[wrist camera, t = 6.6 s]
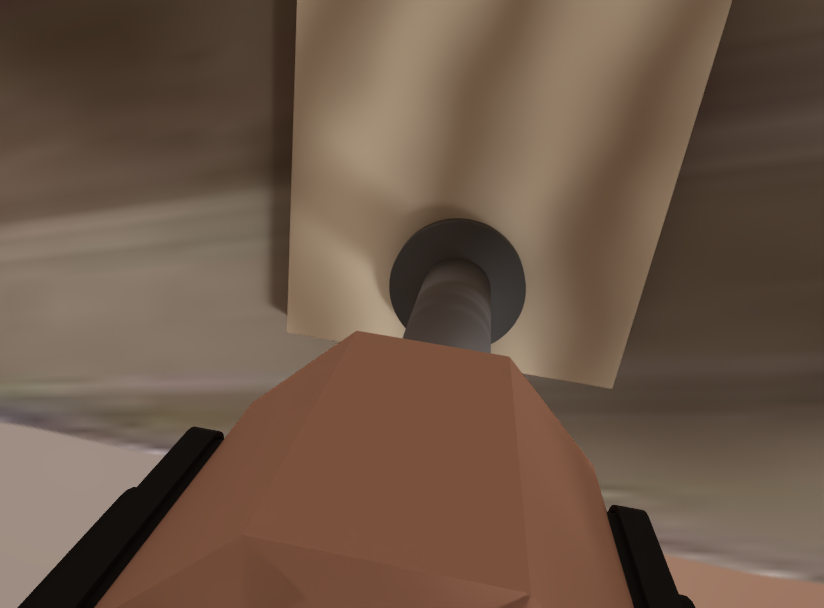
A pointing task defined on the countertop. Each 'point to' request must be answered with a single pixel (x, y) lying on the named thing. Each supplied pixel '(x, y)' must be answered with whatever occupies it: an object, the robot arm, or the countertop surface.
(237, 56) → the countertop surface
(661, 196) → the post board
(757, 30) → the countertop surface
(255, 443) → the collar
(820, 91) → the countertop surface
